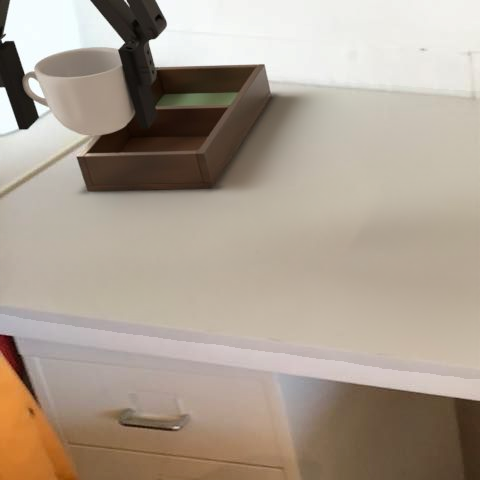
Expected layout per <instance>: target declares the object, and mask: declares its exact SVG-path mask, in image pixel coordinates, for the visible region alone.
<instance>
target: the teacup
mask: <svg viewBox="0 0 480 480" xmlns="http://www.w3.org/2000/svg"><path fill="white" fill-rule="evenodd" d="M118 50H119V48H114V47H106V46H105V47H103V46H90V47H81V48H74V49H69V50H64V51H60V52H57V53H54V54H51V55H48V56H46V57H44V58H42V59H41V60H39V61H38V62H36V63H35V65H34V67H33V70H34V71H33V70H32V71H28V72H26V73H25V75H24V77H23V80H22V84H23V88H24V90H25V92H26V94H27V95H28V96H29V97H30V98H32V99H33V100H34V102H36V103H38V104H40V105H41V106H45V107H47V108H49V110H50V112H51V113H52V115H53V117H54V118H55V119H56V120H57V121H58V122H59V123H60V124H61V125H62V126H63V127H65V128H66V129H68V130H69V131H71V132H74V133H76V134H78V135H81V136H92V137H94V136H95V135H104V134H108V133H112V132H115V131H118V130H120V129H122V128H123V127H125V126H126V125H127V123H128V122H130V120H131V119H132V118H133V116H134V114H135V109H134V106H133V102H132V98H131V95H130V91H129V88H128V84H127V81H126V77H125V73H124V70H123V66H122V63H121V59H120V56H119V52H118ZM30 78H31V79H34V80H35V81H36V82H37V83H38V85H39V87H40V89H41V92H42V94H43V97H41V96H39V95H37V94H36V93H35V92H34V91H33V90H32V89H31V86H30V82H29V80H30Z"/></svg>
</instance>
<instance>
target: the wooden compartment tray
mask: <svg viewBox="0 0 480 480" xmlns="http://www.w3.org/2000/svg"><path fill="white" fill-rule="evenodd" d="M155 69H156V72H157V75H156V80H155V81H154V82H153V83H152V85H150V88H151V92H152V96H153V99H154V103H155V107H156V111H157V114H158V117H157V118H156V119H155V120H154V122H153V123H152V124H151V125H150V127H149V128H140V127H139V123H138V120H137V116H136V113H135V114H134V116H133V118H132V119H131V120H130V122H128V123H127V125H126V126H125V127H123V128H122V129H120V130H118V131H115V132H112V133H108V134H104V135H94V136H92V138H91V139H90V140H89V141H88V142H87V144H85V146H84V147H83V148H82V150H81V151H80V152H79V153H78V154H77V156H76V160H77V163H78V166H79V169H80V173H81V175H82V179H83V182H84V184H85V187H86V191H87V192H100V191H103V192H104V191H105V192H106V191H144V190H145V191H146V190H147V191H148V190H151V191H152V190H188V189H189V190H191V189H213V188H214V187H215V186H216V184H217V183H218V181H219V179H220V178H221V176H222V175H223V173H224V171H225V170H226V168H227V166H228V165H229V164H230V161H232V159H233V158H234V155H235V154H236V152H237V151H238V150H239V148H240V146H241V145H242V142H243V141H244V140H245V139H246V136H247V135H248V134H249V132H250V130H251V129H252V127H253V125H254V124H255V122H256V121H257V119H258V117H260V114H261V113H262V111H263V110H264V108H265V106H266V105H267V104H268V102H269V100H270V99H271V97H272V92H271V88H270V83H269V78H268V74H267V70H266V65H265V64H264V63H258V64H255V63H254V64H224V65H223V64H222V65H220V64H219V65H218V64H217V65H191V66H190V65H186V66H182V65H181V66H155Z"/></svg>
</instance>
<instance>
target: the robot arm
mask: <svg viewBox="0 0 480 480" xmlns="http://www.w3.org/2000/svg"><path fill="white" fill-rule="evenodd" d="M89 1H90V2H91V3H92V5H93V6H94V7H95V8H96V10H97V11H98V12H99V13H100V14H101V15H102V17H103V18H104V19H105V21H107V23H108V24H109V25H110V26H111V28H112V29H113V30H114V31H115V32H116V34H117V35H118V36H119V37H120V38H121V40H122V41H123V44H122V45H121V46H120V47H119V48H118V49H119V50H118V52H119V56H120V59H121V63H122V66H123V70H124V73H125V77H126V81H127V84H128V88H129V91H130V95H131V98H132V102H133V106H134V109H135V113H136V116H137V120H138V123H139V127H140V128H149V127H150V125H151V124H152V123H153V122H154V120H155V119H156V118H157V117H158V114H157V111H156V107H155V103H154V99H153V96H152V92H151V88H150V85H152V83H153V82H154V81H155V80H156V75H157V72H156V69H155V67H156V64H155V61H154V58H153V54H152V50H151V46H150V41H152V40H156V39H157V38H158V37H159V36H160V35H161V34H162V33H163V32H164V31H165V30H166V28H167V27H168V21H167V19H166V17H165V15H164V14H163V12H162V9H161V7H160V6H159V4H158V1H157V0H89ZM10 3H11V0H0V88H4V89H5V93H6V95H7V98H8V102H9V104H10V108H11V110H12V113H13V115H14V118H15V121H16V124H17V128H18V130H19V131H20V130H21V131H22V130H24V131H27V130H29V129H30V128H31V127H32V126H33V125H34V124H35V123H36V121H38V120H39V119H40V116H39V113H38V109H37V107H36V103H35V101H34V100H33V99H32V98H30V97H29V96H28V95H27V94H26V92H25V90H24V88H23V84H22V80H23V77H24V75H25V74H26V72H25V70H24V67H23V64H22V61H21V58H20V55H19V52H18V48H17V46H16V42H15V41H14V40H5V41H4V42H3V39H4V38H5V37H6V36H7V33H5V27H6V23H7V17H8V12H9V8H10Z"/></svg>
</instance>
